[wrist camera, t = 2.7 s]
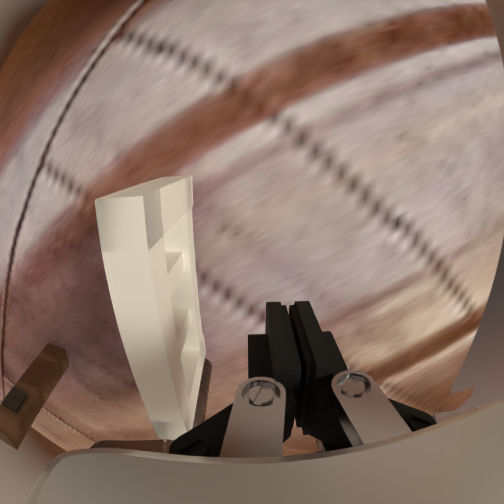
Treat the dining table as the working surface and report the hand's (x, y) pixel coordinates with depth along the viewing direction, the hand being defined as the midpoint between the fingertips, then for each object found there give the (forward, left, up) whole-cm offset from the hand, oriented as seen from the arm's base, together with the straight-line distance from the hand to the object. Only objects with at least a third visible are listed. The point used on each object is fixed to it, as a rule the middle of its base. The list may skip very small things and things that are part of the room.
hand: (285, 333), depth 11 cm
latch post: (+16, -20, -10) cm, 27 cm away
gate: (+3, -6, -9) cm, 11 cm away
